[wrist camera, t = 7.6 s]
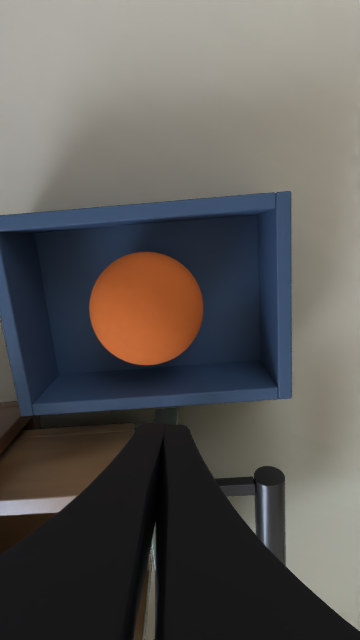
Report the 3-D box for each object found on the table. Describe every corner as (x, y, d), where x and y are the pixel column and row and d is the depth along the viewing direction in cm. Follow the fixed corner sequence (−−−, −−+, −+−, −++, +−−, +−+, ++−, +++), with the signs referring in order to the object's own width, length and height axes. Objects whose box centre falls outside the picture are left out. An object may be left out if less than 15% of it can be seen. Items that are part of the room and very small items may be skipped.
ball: (84, 298, 18) (45, 321, 13) (151, 228, 17) (138, 223, 12) (153, 363, 18) (142, 408, 13) (220, 299, 17) (234, 322, 13)
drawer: (266, 401, 18) (302, 470, 13) (270, 566, 21) (301, 683, 15) (-44, 421, 19) (-139, 498, 13) (-4, 580, 21) (-69, 699, 16)
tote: (53, 381, 19) (20, 417, 15) (25, 222, 17) (-21, 217, 13) (269, 366, 19) (292, 399, 15) (266, 201, 17) (291, 190, 13)
